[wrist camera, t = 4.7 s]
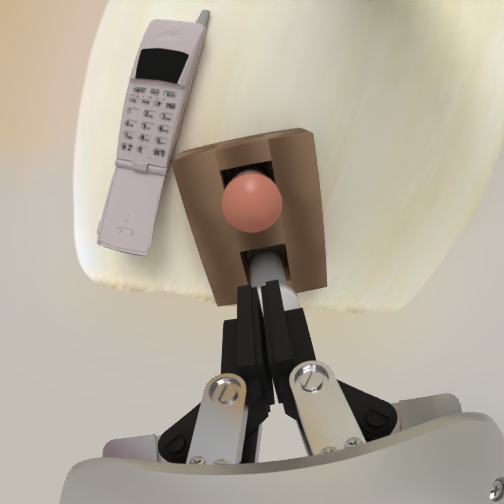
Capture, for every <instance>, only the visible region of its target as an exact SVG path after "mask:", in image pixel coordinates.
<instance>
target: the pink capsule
mask: <svg viewBox="0 0 504 504" xmlns="http://www.w3.org/2000/svg"><path fill="white" fill-rule="evenodd" d="M222 211H223V214H224V216H225V218H226V220H227V221H228V222H229V223H230V224H231V225H232V226H233V227H234V228H236V229H238V230H240V231H243V232H249V233H255V232H260V231H263V230H266V229H268V228H269V227H271V226H272V225H273V224H274V223H275V222H276V221H277V219H278V218H279V216H280V214H281V211H282V197H281V194H280V192H279V190H278V187H277V186H276V184H275V183H274V182H273V181H272V180H271V179H270V178H269V177H267V176H266V175H265V173H264V171H263V169H262V168H261V167H259V166H258V165H256V164H250V165H244V166H240V167H238V168H237V169H236V171H235V172H234V175H233V179H232V180H231V181H230V182H229V183H228V185H227V186H226V188H225V190H224V194H223V199H222Z"/></svg>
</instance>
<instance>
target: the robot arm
mask: <svg viewBox="0 0 504 504" xmlns="http://www.w3.org/2000/svg"><path fill="white" fill-rule="evenodd" d="M265 284H266V285H264V286H261V295H262V305H263V312H262V308H261V303H260V299H259V295H258V290H257V287H253V288H252V286H251V284H249V285H243V286H238V287H237V319H231V320H225V321H224V324H223V341H222V362H221V374H220V375H218V376H215V377H214V378H212V379H211V380H210V381H209V382H208V383H207V385H206V387H205V389H204V393H203V398H202V402H201V403H199V405H197V406H196V407H195V408H194V409H192V410H191V411H190V412H189V413H188V414H186V415H185V416H184V417H183V418H181V419H180V420H179V421H178V422H176V423H175V424H174V425H173V426H172V427H170V428H169V429H168V430H166V431H165V432H164V433H163V434H162V435H159V436H156V435H155V434H153V435H146V436H139V437H131V438H123V439H114V440H111V441H109V442H108V443H107V444H106V445H105V447H104V449H103V457H100V458H92V459H88V460H85V461H82V462H79V463H77V464H76V465H74V466H73V467H72V468H71V469H70V471H69V473H68V474H67V477H66V480H65V482H64V486H63V489H62V493H61V498H60V504H504V436H503V434H502V432H501V430H500V429H499V427H498V426H497V424H496V423H495V422H494V420H493V419H492V418H491V417H489V416H488V415H486V414H483V413H477V412H465V413H464V412H463V413H462V410H461V405H460V403H459V400H458V399H457V398H456V397H455V396H454V395H452V394H448V393H447V394H446V393H445V394H439V395H433V396H428V397H422V398H416V399H409V400H402V401H399V403H393V404H390V403H388V402H386V401H384V400H381V399H379V398H377V397H374V396H372V395H370V394H367V393H365V392H363V391H361V390H358V389H356V388H354V387H352V386H350V385H347V384H345V383H343V382H341V381H339V380H337V379H336V378H335V375H334V373H333V371H332V370H331V368H330V367H329V366H327V365H326V364H325V363H322V362H319V361H316V358H315V354H314V350H313V346H312V342H311V338H310V334H309V330H308V326H307V323H306V318H305V315H304V311H303V308H297V309H292V310H286V311H284V306H283V301H282V296H281V291H280V285H279V280H272V281H266V282H265ZM263 315H264V317H263ZM272 379H273V382H274V386H275V390H276V394H277V398H278V402H279V403H283V406H284V410H285V413H286V414H287V415H288V416H290V417H292V418H293V419H295V420H296V423H297V426H298V429H299V432H300V435H301V438H302V441H303V444H304V447H305V449H306V452H307V455H308V456H307V457H301V458H294V459H288V460H280V461H271V462H262V463H258V457H259V449H260V440H261V431H262V422H263V421H264V420H265V419H266V418H267V417H268V412H270V405H272V404H275V400H274V391H273V382H272Z"/></svg>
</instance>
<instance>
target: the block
mask: <svg viewBox="0 0 504 504" xmlns="http://www.w3.org/2000/svg"><path fill="white" fill-rule="evenodd" d="M265 161H268V162H269V168H270V173H271V179H272V181H273V182H274V183H275V184H276V186H277V187H278V190H279V192H280V194H281V197H282V211H281V214H280V216H279V218H278V219H277V221H276V222H275V223H274V224H273V225H272V226H271V227H269V228H268V229H266V230H263V231H260V232H255V233H249V232H243V231H240V230H238V229H236V228H234V227H233V226H232V225H231V224H230V223H229V222H228V221H227V220H226V218H225V216H224V214H223V211H222V199H223V194H224V190H225V188H226V186H227V185H228V183H229V182H228V178H227V174H226V169H230V168H235V167H240V166H244V165H250V164H255V163H260V162H265ZM171 163H172V167H173V170H174V174H175V177H176V181H177V184H178V188H179V191H180V194H181V198H182V201H183V204H184V208H185V211H186V214H187V217H188V220H189V224H190V227H191V230H192V233H193V236H194V239H195V242H196V245H197V248H198V251H199V254H200V257H201V260H202V263H203V266H204V269H205V272H206V275H207V278H208V281H209V283H210V286H211V289H212V292H213V295H214V297H215V300H216V303H217V306H225V305H231V304H237V287H238V286H243V285H249V284H251V276H250V262H247V257H246V253H245V251H248V250H253V249H259V248H264V247H269V246H275V245H280V244H283V250H284V255H283V256H280V258H281V260H282V264H283V269H284V273H285V277H286V281H287V285H288V286H289V287H291V288H292V289H293V290H294V291H295V292H296V293H299V292H304V291H309V290H314V289H319V288H324V287H327V272H326V253H325V238H324V225H323V213H322V203H321V193H320V183H319V174H318V166H317V158H316V151H315V144H314V137H313V133H312V132H310V131H307V130H305V129H302V128H296V129H289V130H282V131H276V132H270V133H264V134H258V135H253V136H248V137H243V138H238V139H233V140H228V141H224V142H219V143H215V144H211V145H206V146H202V147H198V148H194V149H190V150H187V151H183V152H182V153H180V154H179V155H178V156H177V157H176V158H175V159H173V160H172V161H171Z"/></svg>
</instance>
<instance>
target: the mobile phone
mask: <svg viewBox="0 0 504 504" xmlns="http://www.w3.org/2000/svg"><path fill="white" fill-rule="evenodd" d="M209 14H210V11H208V10H202V12H201V14H200V16H199V18H198V20H197V22H196V23H191V22H183V21H173V20H161V19H155V20H153V21H151V22H150V24H149V26H148V28H147V30H146V32H145V35H144V37H143V40H142V42H141V45H140V48H139V50H138V53H137V56H136V59H135V63H134V66H133V69H132V73H131V76H130V81H129V85H128V89H127V94H126V98H125V103H124V108H123V114H122V120H121V126H120V133H119V141H118V149H117V159H116V161H115V165H116V169H115V172H114V175H113V178H112V182H111V185H110V188H109V192H108V196H107V199H106V203H105V207H104V211H103V215H102V219H101V221H100V222H99V225H98V230H97V234H98V238H97V244H99V245H101V246H104V247H107V248H110V249H113V250H117V251H120V252H124V253H129V254H135V255H140V256H147V254H148V249H149V247H150V246H151V242H152V237H153V233H152V231H153V227H154V222H155V217H156V213H157V208H158V204H159V199H160V195H161V191H162V187H163V183H164V179H165V175H166V173H167V172H168V170H169V166H170V161H171V157H172V153H173V151H174V148H175V144H176V140H177V136H178V132H179V129H180V125H181V121H182V117H183V114H184V110H185V106H186V103H187V99H188V96H189V92H190V89H191V85H192V81H193V77H194V74H195V70H196V66H197V63H198V59H199V56H200V53H201V49H202V46H203V41H204V38H205V35H206V26H207V22H208V18H209ZM183 97H184V98H183ZM182 101H183V102H182Z"/></svg>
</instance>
